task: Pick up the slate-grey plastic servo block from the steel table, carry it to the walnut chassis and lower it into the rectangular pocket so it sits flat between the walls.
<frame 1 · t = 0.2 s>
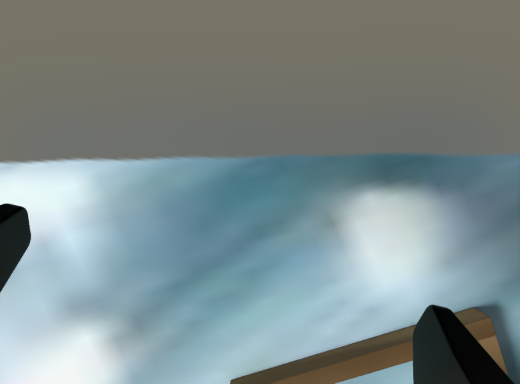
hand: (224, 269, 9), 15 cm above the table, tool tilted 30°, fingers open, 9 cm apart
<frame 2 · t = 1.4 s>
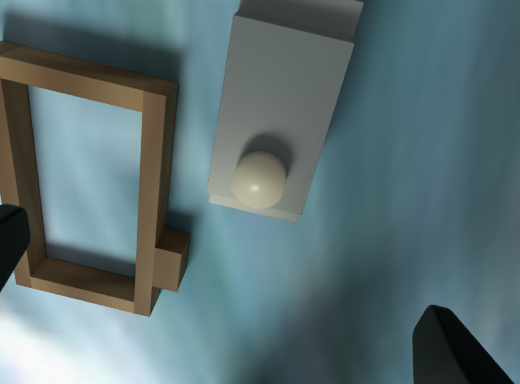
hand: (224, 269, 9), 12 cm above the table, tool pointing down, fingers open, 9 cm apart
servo: (282, 87, 19), on the table
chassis: (93, 189, 24), on the table
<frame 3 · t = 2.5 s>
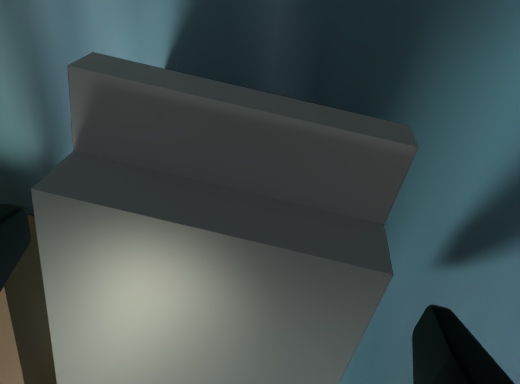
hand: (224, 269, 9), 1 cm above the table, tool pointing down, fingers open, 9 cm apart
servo: (236, 229, 10), on the table
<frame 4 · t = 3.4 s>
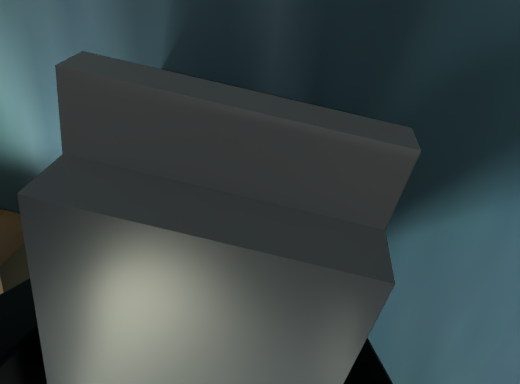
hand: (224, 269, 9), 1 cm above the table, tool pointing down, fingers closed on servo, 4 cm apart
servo: (234, 232, 10), on the table, touching gripper
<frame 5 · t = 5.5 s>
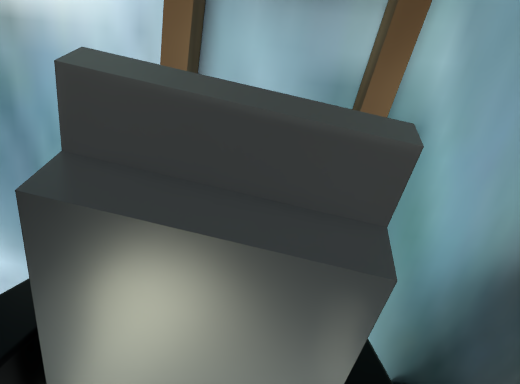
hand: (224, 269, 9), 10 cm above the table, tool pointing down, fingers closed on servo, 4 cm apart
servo: (234, 230, 10), point 9 cm above the table, touching gripper
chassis: (272, 103, 18), on the table
when the fingers open (2 cm above the table, at t = 7.4 s): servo drops 2 cm, resting in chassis.
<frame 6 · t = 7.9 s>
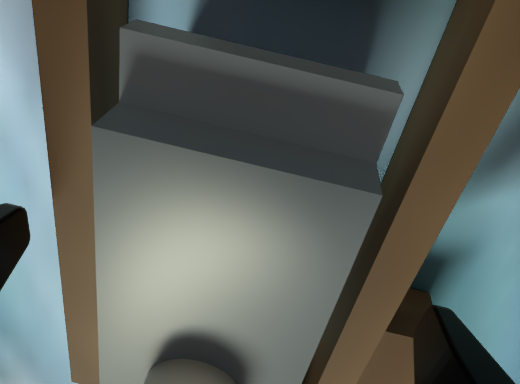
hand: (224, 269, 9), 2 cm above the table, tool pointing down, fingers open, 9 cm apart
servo: (245, 193, 11), resting in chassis
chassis: (242, 204, 11), on the table
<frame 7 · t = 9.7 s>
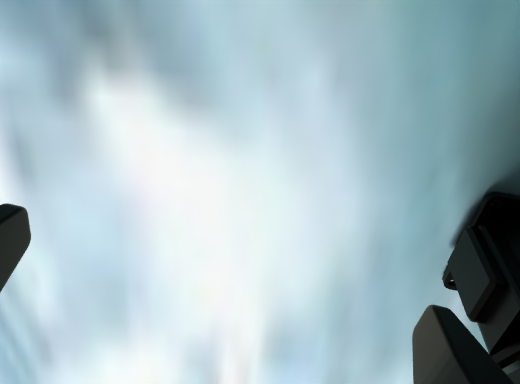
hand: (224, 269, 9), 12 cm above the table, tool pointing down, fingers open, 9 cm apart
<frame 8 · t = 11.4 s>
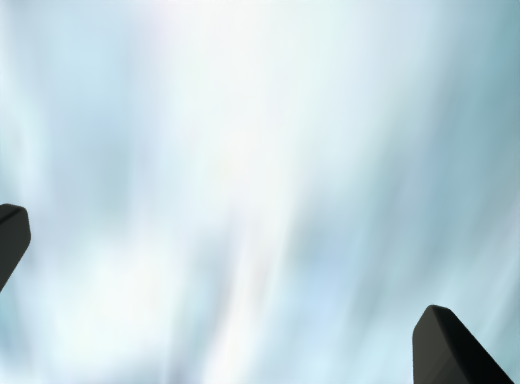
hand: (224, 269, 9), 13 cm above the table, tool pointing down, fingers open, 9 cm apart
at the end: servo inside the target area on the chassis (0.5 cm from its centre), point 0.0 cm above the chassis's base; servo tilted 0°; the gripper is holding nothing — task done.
